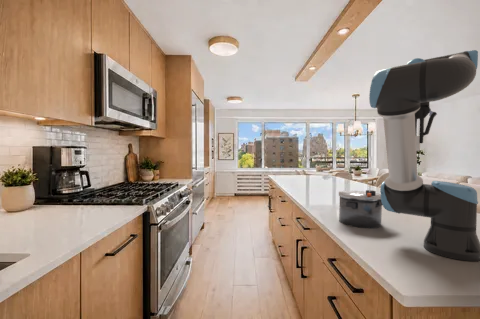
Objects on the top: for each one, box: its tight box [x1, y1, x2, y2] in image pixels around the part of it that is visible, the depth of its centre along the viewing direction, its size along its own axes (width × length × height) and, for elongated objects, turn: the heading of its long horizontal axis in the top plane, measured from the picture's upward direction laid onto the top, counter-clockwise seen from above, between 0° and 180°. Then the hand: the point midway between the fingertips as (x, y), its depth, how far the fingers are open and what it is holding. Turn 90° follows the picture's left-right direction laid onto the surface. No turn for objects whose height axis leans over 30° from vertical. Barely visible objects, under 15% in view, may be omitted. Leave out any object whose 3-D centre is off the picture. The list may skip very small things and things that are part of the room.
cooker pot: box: [338, 196, 383, 229], centre depth 116 cm, size 24×20×12 cm
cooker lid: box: [338, 189, 381, 201], centre depth 116 cm, size 19×19×4 cm
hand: (417, 150), depth 110 cm, fingers closed
